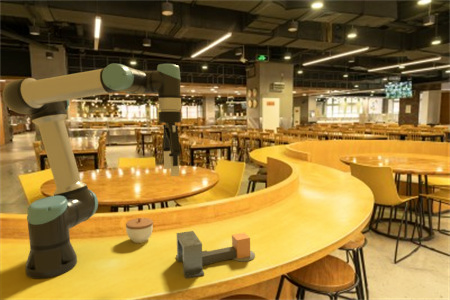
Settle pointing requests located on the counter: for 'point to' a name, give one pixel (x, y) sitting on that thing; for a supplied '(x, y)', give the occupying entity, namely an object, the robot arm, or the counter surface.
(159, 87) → the robot arm
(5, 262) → the counter surface
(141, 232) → the lidded jar
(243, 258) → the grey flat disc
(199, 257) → the housing
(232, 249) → the plug
